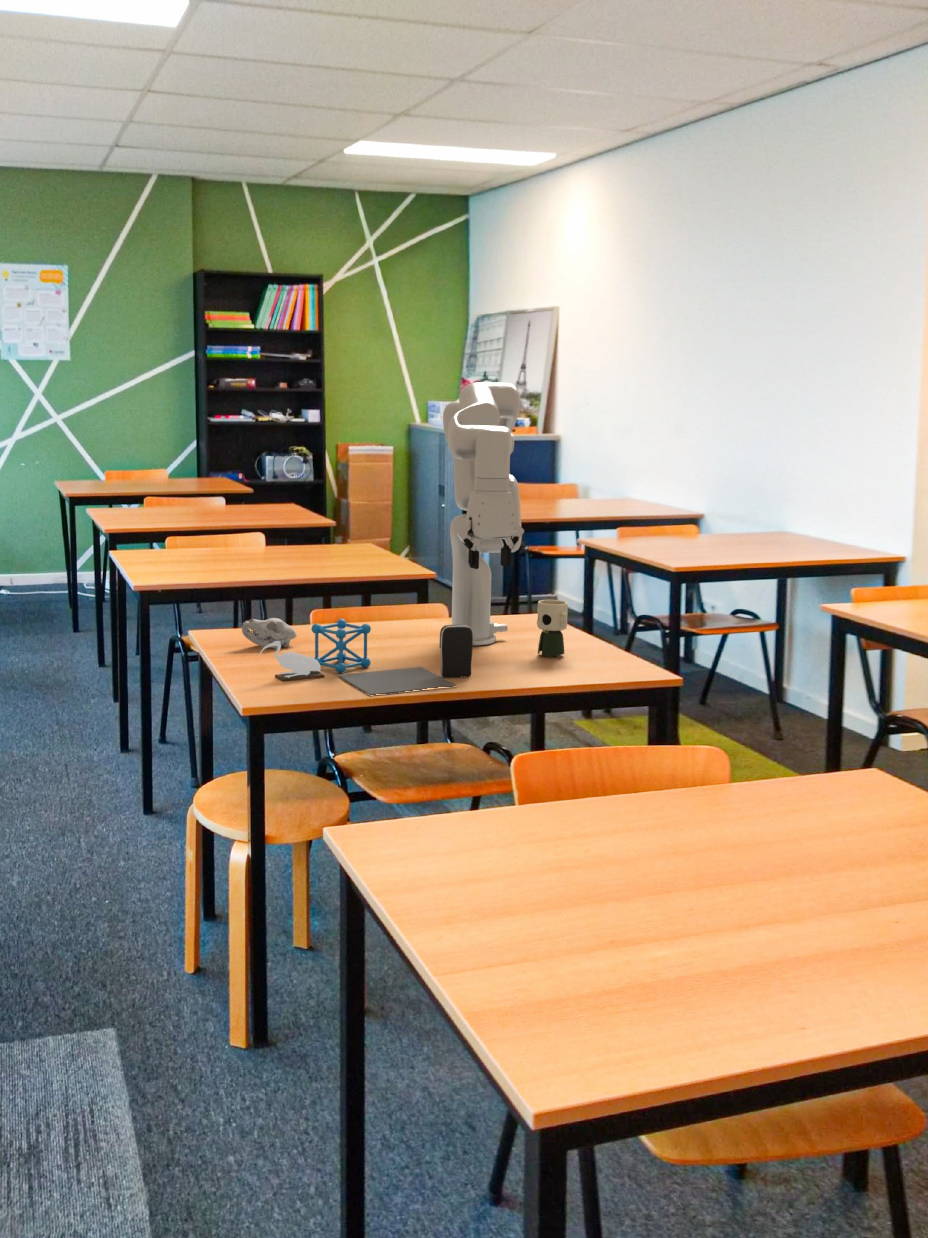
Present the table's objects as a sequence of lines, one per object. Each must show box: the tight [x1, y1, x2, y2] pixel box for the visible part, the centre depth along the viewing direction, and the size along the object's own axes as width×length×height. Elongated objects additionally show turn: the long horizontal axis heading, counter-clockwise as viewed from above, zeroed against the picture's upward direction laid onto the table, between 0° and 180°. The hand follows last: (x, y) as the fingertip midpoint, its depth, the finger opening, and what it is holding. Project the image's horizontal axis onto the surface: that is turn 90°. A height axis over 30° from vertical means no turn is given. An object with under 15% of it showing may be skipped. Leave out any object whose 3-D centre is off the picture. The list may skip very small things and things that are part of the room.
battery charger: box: [439, 624, 474, 679], centre depth 274 cm, size 7×4×11 cm, turn 106°
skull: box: [241, 617, 298, 650], centre depth 298 cm, size 8×9×12 cm
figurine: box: [259, 641, 325, 683], centre depth 268 cm, size 14×4×9 cm, turn 119°
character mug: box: [536, 599, 569, 658], centre depth 295 cm, size 11×7×13 cm, turn 32°
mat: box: [337, 666, 458, 696], centre depth 268 cm, size 20×18×1 cm
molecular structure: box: [310, 618, 372, 674], centre depth 279 cm, size 10×10×10 cm
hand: (489, 566), depth 274 cm, fingers open, 7 cm apart
